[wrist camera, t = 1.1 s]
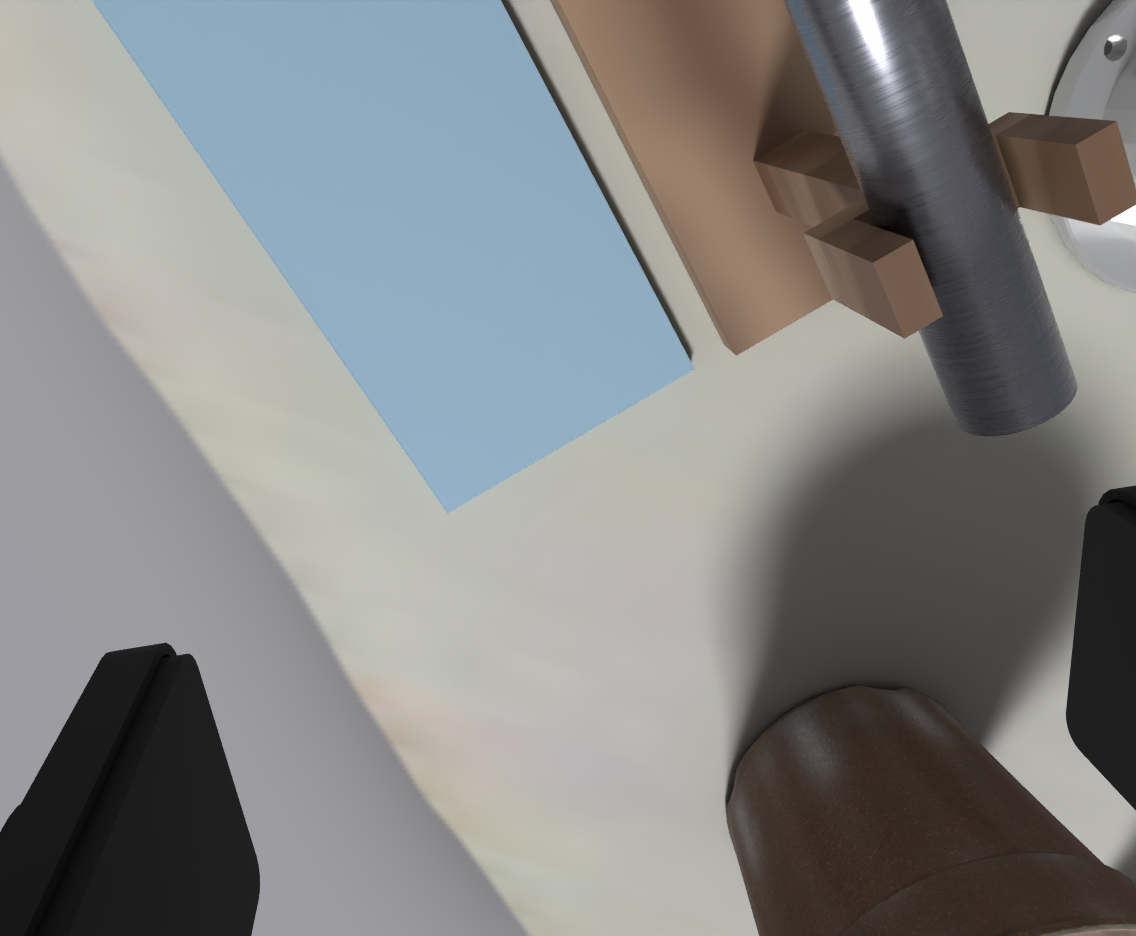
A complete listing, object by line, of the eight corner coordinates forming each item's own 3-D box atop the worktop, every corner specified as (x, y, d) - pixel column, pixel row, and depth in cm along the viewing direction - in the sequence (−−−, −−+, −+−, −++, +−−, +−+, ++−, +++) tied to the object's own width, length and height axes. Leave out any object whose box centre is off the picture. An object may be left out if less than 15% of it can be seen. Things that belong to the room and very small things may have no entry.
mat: (155, -652, 26) (150, -668, 25) (690, 364, 38) (694, 369, 38) (-192, -416, 26) (-205, -427, 26) (447, 506, 39) (447, 513, 39)
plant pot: (822, 965, 52) (988, 1322, 37) (608, 818, 46) (704, 1172, 32) (1063, 762, 49) (1344, 1061, 35) (867, 578, 43) (1106, 844, 29)
